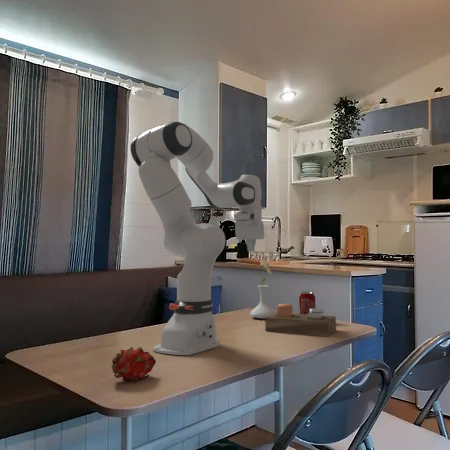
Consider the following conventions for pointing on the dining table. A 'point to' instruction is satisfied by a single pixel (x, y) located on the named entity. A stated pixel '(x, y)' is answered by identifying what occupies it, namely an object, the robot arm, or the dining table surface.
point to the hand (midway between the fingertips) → (251, 251)
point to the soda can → (306, 302)
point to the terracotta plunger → (284, 310)
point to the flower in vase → (263, 298)
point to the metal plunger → (316, 313)
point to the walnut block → (301, 325)
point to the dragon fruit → (133, 364)
